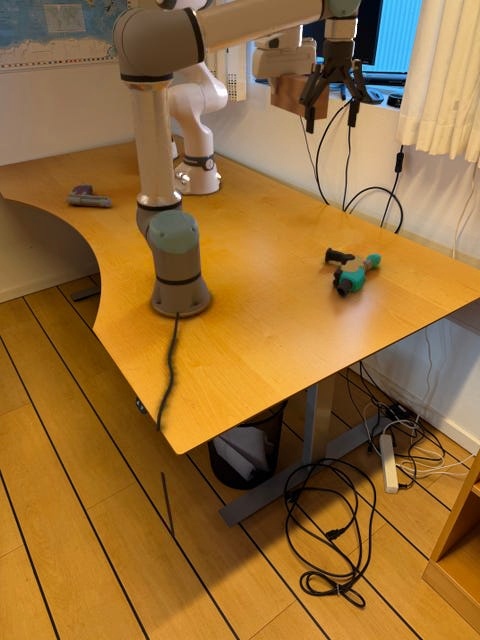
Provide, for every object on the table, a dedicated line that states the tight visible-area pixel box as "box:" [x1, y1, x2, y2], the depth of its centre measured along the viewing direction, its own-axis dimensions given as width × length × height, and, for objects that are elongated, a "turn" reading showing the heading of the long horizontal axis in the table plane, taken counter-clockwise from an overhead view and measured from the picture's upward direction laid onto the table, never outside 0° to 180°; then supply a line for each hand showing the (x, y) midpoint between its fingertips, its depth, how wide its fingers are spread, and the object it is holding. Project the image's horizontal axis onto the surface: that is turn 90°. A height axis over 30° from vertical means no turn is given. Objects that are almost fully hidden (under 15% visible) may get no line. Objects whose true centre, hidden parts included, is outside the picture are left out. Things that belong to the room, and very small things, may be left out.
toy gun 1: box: [65, 184, 112, 208], centre depth 182 cm, size 4×19×15 cm
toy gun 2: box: [324, 247, 382, 299], centre depth 133 cm, size 4×26×15 cm
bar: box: [270, 73, 331, 121], centre depth 136 cm, size 22×5×9 cm, turn 28°
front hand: (330, 129), depth 129 cm, fingers open, 13 cm apart
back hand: (283, 92), depth 142 cm, fingers closed on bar, 5 cm apart
